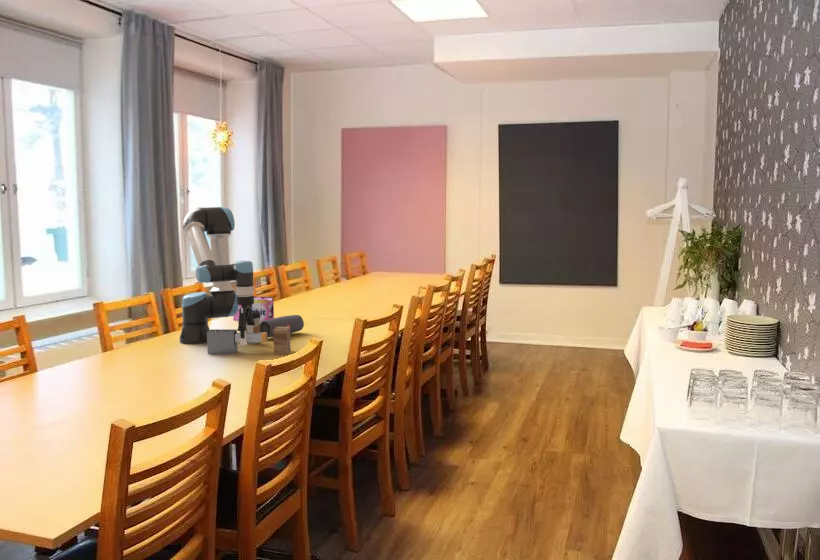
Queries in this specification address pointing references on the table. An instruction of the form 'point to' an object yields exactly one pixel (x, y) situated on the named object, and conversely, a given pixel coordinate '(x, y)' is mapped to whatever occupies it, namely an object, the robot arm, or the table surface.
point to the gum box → (261, 308)
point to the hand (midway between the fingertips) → (246, 342)
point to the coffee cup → (257, 325)
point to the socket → (282, 340)
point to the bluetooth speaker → (282, 324)
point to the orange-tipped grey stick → (252, 337)
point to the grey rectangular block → (221, 342)
